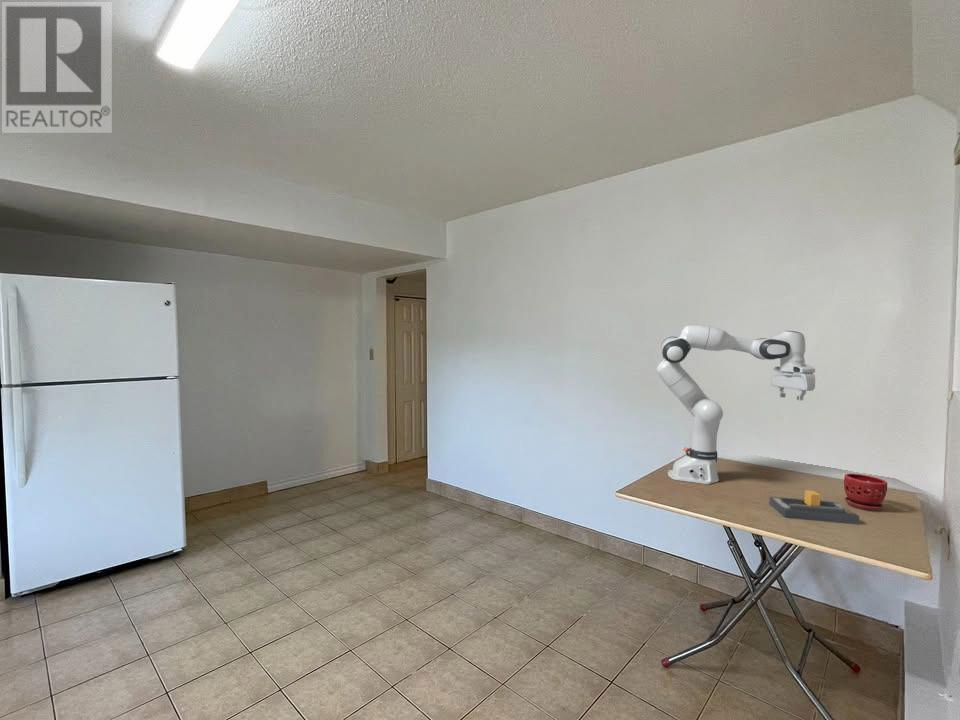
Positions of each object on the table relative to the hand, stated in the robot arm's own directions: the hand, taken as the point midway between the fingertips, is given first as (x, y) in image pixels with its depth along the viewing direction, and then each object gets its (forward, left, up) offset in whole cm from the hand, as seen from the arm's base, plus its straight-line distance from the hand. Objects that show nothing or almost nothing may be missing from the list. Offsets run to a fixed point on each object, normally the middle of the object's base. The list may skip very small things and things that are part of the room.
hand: (791, 398), depth 192 cm
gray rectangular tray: (-3, -27, -42) cm, 50 cm away
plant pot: (+22, -13, -42) cm, 49 cm away
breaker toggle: (-3, -27, -38) cm, 47 cm away
